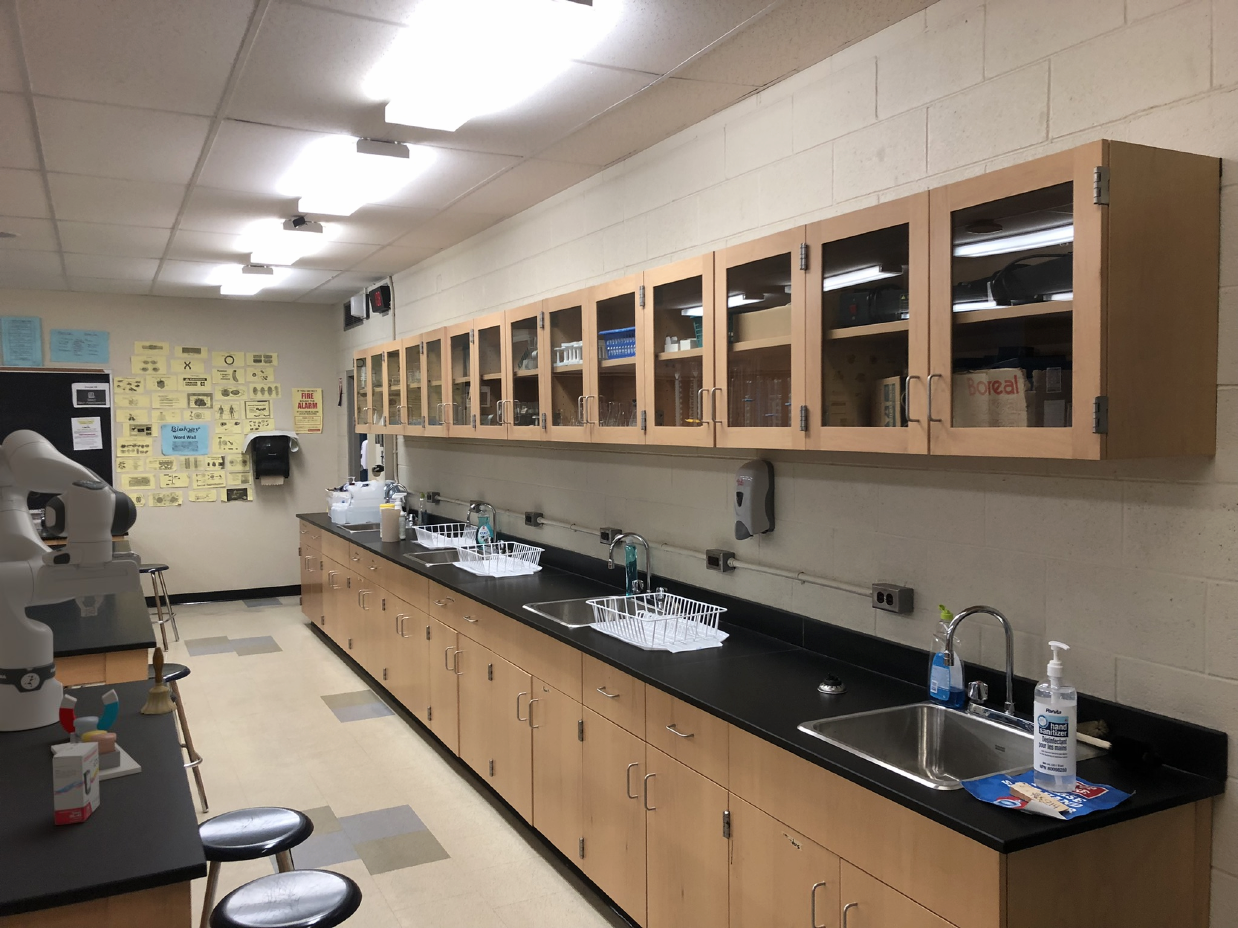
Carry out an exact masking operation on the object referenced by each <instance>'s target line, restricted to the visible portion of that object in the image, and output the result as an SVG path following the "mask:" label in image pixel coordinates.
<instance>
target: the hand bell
mask: <svg viewBox="0 0 1238 928" xmlns="http://www.w3.org/2000/svg"><path fill="white" fill-rule="evenodd" d="M151 658H152V667H153V670H154V687H152V688H151V689H149V690H148V695H147V700H146V702H145V705H144V706H143V707H142V708H141V710H140V711H141V712H140V714H142V713H144V714H143V715H146V714H156V715H162V714H167V713H172V712H174V711H176V710H177V709H178V706H177V705H176V704H175V703H174V702H173V700H172V698H171V694H170V689H169V687H167V686H164V682H163V674H162V673H163V668H164V663H165V656H164V654H163V651H162V647H160V646H156V647H154V651H153V653H152V657H151ZM171 709H172V712H171Z"/></svg>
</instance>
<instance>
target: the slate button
mask: <svg viewBox="0 0 1238 928" xmlns="http://www.w3.org/2000/svg"><path fill="white" fill-rule="evenodd" d="M98 719H99V717H98V716H83V717H77V719H75V720H74V727H75V735H76V736H77V737H82V734H84V733H87V732H91V731H97V724H98Z"/></svg>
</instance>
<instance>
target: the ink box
mask: <svg viewBox="0 0 1238 928" xmlns="http://www.w3.org/2000/svg"><path fill="white" fill-rule="evenodd" d="M52 779H53V780H52V781H53V783H52V784H53V785H52V786H53V811H54V812H53V814H54V825H56V826H61V825H69V824H75V823H84V822H85V821H86V820H87V819H88V818H90V816H91V815H92V814H93V813H94V811H95V810H96V809H97V808H98V807H99V806H100V804H101V803H100V781H99V762H98V742H90V743H75V744H69V745H68V746H67V747H65V748H64V749H63V750H61V751H60V752H59V753H57V754H56V755H53V758H52Z"/></svg>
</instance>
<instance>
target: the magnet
mask: <svg viewBox="0 0 1238 928" xmlns="http://www.w3.org/2000/svg"><path fill="white" fill-rule="evenodd" d="M101 700H102V703H103V705H104V706H103V707H104V711H103V714H102V715H101V717H99V718H98V724H97V729H98V730H103V731H107V732H108V730H109V729H110V728H111V727H112V726H113V725H114V723H115V721H116V720H117V717H118V715H119V709H120V707H119V706H120V704H119V697H118V695H117V692H116V691H115V689H114V688H113V689H112V688H111V689H110V690H109V691H108V692H106V693H105V694H103V695H102V696H101ZM77 701H78V699H77V698H76V697H74V696H71V695H69V694H67V693H65V694H63V699H62V702H61V705H60V708H59V723H60V725H61V727H62V728H63V729H64V731H65V732H66V733H68V734H69V735H70V733H73V732H75V727H74V720H75V719H78V717H76V714H75V705H76V704H77Z"/></svg>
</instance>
